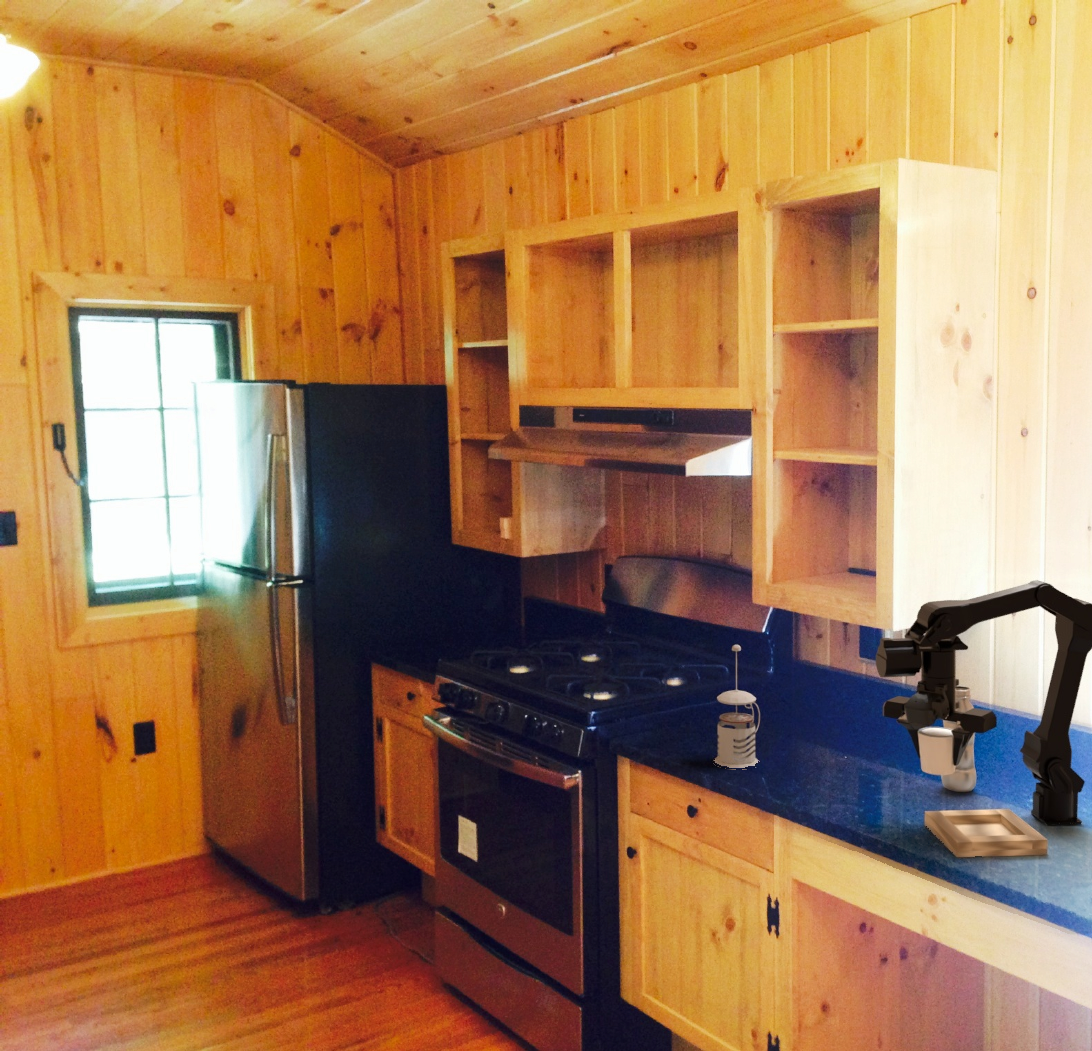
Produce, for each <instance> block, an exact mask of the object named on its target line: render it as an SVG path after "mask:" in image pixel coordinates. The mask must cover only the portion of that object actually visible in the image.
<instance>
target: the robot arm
mask: <svg viewBox="0 0 1092 1051" xmlns="http://www.w3.org/2000/svg"><path fill="white" fill-rule="evenodd" d="M1038 607H1040V608H1042V609H1043V610H1044V611H1046V612H1047V613H1049V614H1051V615H1052V616H1054V617H1055V622H1054V632H1055V636H1056V643H1057V652H1056V655H1055V660H1054V664H1053V668H1052V673H1051V678H1050V681H1049V684H1048V685H1049V686H1048V689H1047V694H1046V699H1045V702H1044V706H1043V710H1042V715H1041V720H1040V723H1039V725H1038V726H1037V727H1036V729H1034V731H1033V732H1031V731H1028V730H1026V731H1024V739H1023V744H1022V747H1021V748H1020V750H1019V752H1020V753H1021V754H1022V762H1023V763H1024V765H1025V767H1026V768H1027V769H1028V770H1029V771H1030V772H1031V774H1032V777H1033V779H1035V780H1036V781H1038V782H1035V791H1033V792H1032V810H1030V814H1031V815H1032V816H1034V817H1035V818H1037V820H1039V821H1040V822H1041V823H1042V824H1044V825H1047V826H1056V825H1058V826H1059V825H1060V826H1061V825H1064V826H1065V825H1082V824H1083V821H1082V820H1081V819H1080V818H1079V817H1078V808H1079V807H1078V805H1079V793H1081V792H1082V790H1083V788H1084V786H1085V782H1086V781H1085V780H1084V779H1083V778H1082V777H1081V776H1080V775H1079V774H1078V773H1077V772H1076V771H1075V770H1074V769H1073V768H1072V756H1073V750H1072V744H1071V740H1070V728H1071V724H1072V721H1073V720H1072V718H1073V715H1074V712H1075V707H1076V702H1077V698H1078V694H1079V689H1080V686H1081V680H1082V677H1083V673H1084V669H1085V663H1086V661H1087V656H1088V654H1089V653H1090V651H1092V603H1091V602H1089V601H1088V602H1087V601H1086V600H1085V601H1084V600H1082V599H1079V598H1077V597H1076V598H1074V597H1072V596H1069V595H1068V594H1067V593H1064V592H1063V591H1061V590H1060V589H1057V588H1055V587H1054V586H1053V585H1052V584H1051V583H1048V582H1045V581H1040V580H1038V579H1035V580H1031V581H1030V582H1028V583H1024V584H1021V585H1017V586H1013V587H1010V588H1006V589H1002V590H999V591H996V592H991V593H988V594H984V595H980V596H977V597H973V598H970V599H960V600H959V599H955V600H954V599H953V600H952V599H946V600H937V601H928V602H925V603H924V604H922V605H921V606H920V608H919V610H918V611H917V615H916V620H915V621H914V622H913V623H912V625H911V626H910V628H909V629H908V630H907V632H906V634H905V635H904V637H902V638H901V637H900V638H899V637H898V638H890V637H881V638H880V639H879V646H878V647H877V650H876V651H877V652H876V654H875V666H876V670H877V673H878V675H879V676H880V678H899V677H915V676H916V675H917V673H920V675H921V676H920V677H921V678H920V679H921V680H918V681H917V684H916V691H915V694H913V695H911V696H910V697H908V696H902V695H901V696H900V695H898V696H895V697H893V698H890V699H888V700H886V701H885V702H884V703H883V705H882V716H883V718H884V717H885V718H890V719H896V723H897V724H900V725H901V726H903V727H904V728H905V729H906V730H907V732H908V734H909V737H910V738H911V741H912V744H913V746H914V750H915V752H916V754H917V757H918V759H919V760H921V759H920V749H919V739H918V730H919V729H921V728H926V727H933V725H934V724H936V721H937V720H942V721H943V720H946V721H952V722H957V725H958V728H956V729H954V730H951V732H952V734H953V736H954V750H953V762H954V766H957V765H958V764H959V762H960V760H961V758H962V755H963V753H964V751H965V749H966V746H967V744H968V742H969V740H970V739H971V737H972V735H973V734H974V733H975V734H985V733H986V732H988V731H991V730H993V729H994V728H996V727H997V726H998V725H997V723H998V722H997V721H998V718H997V715H996V714H995V712H994V710H988V709H983V708H976V707H974V708H973V709H971V710H969V711H966V712H959V711H956V709H957V708H959V702H956V686H960V680H959V678H956V670H957V669H956V664H957V662H956V660H957V658H956V657H957V656H956V652H957V651H967V650H968V649H969V646H968V645H967V644H966V643H964V641H962V639H961V638H960V636H959V635H961V634H963V633H965V632H967V631H968V630H969V629H971V628H973V627H974V626H975V625H978V624H979V623H982V622H983V623H984V622H986V621H990V620H993V619H997V618H1000V617H1005V616H1007V615H1008V616H1009V615H1012V614H1015V613H1019V612H1022V611H1023V612H1024V611H1026V610H1031V609H1035V608H1038ZM1081 823H1082V824H1081Z"/></svg>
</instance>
